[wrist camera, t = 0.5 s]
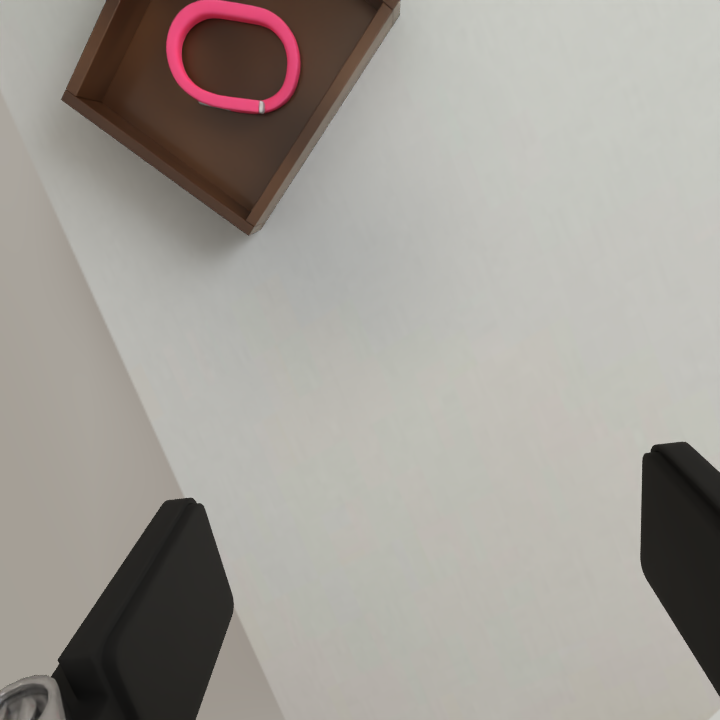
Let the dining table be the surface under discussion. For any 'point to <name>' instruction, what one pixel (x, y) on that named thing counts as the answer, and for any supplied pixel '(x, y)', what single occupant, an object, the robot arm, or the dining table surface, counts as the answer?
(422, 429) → the dining table surface
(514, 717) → the dining table surface
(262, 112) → the fitness band
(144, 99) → the walnut tray
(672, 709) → the dining table surface
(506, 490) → the dining table surface
